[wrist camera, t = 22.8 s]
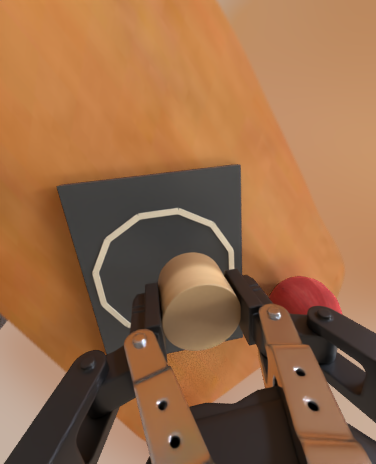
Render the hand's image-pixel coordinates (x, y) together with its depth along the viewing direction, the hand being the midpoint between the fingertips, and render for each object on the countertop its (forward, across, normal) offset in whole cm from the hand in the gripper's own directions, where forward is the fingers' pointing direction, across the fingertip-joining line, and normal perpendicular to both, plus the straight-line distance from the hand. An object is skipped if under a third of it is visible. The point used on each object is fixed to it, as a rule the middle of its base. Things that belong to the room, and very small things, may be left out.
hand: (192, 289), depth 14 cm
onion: (+8, -10, +7) cm, 14 cm away
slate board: (+7, +1, +3) cm, 8 cm away
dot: (+1, 0, 0) cm, 1 cm away
